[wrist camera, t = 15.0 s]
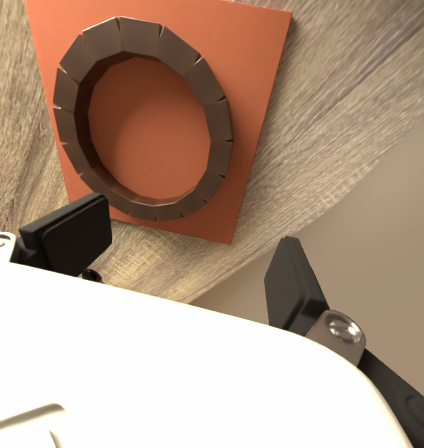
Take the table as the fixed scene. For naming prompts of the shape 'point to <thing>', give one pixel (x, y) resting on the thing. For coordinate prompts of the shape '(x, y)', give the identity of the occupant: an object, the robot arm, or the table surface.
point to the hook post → (91, 275)
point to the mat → (168, 100)
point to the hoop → (81, 96)
